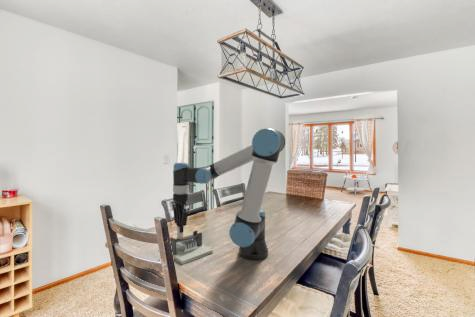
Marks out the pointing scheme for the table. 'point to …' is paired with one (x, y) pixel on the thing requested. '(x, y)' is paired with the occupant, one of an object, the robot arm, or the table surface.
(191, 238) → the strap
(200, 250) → the board
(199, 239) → the mounts
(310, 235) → the table surface
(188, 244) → the heatsink
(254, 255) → the robot arm
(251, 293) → the table surface
